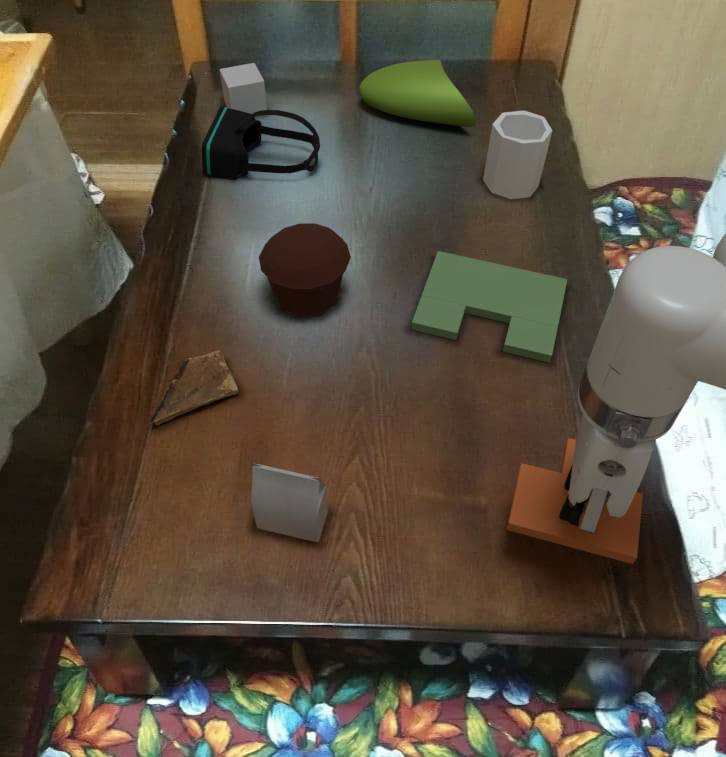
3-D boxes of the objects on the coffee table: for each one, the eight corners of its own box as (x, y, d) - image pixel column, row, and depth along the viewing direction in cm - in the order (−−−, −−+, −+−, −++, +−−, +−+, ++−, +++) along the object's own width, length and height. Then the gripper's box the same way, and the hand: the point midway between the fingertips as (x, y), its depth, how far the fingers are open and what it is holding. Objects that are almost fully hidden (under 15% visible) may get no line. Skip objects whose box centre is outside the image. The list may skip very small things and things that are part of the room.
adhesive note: (233, 121, 123) (228, 87, 118) (224, 102, 126) (219, 69, 121) (267, 113, 124) (264, 80, 119) (258, 95, 128) (254, 62, 123)
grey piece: (318, 542, 77) (314, 496, 69) (257, 528, 78) (246, 481, 70) (327, 512, 79) (325, 464, 71) (268, 498, 80) (258, 449, 72)
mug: (538, 202, 111) (552, 146, 103) (481, 196, 112) (490, 140, 104) (539, 155, 118) (552, 99, 110) (486, 149, 119) (495, 93, 111)
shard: (152, 429, 85) (149, 420, 84) (135, 382, 89) (131, 372, 88) (240, 397, 88) (239, 388, 87) (220, 352, 92) (217, 343, 91)
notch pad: (565, 286, 100) (567, 279, 99) (549, 363, 92) (552, 355, 91) (436, 258, 103) (437, 250, 102) (410, 329, 95) (411, 322, 94)
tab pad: (642, 464, 76) (665, 423, 70) (632, 564, 69) (657, 528, 63) (526, 435, 78) (538, 394, 72) (506, 530, 71) (518, 492, 65)
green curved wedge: (482, 48, 120) (361, 46, 123) (476, 102, 115) (350, 98, 118) (479, 86, 127) (366, 83, 130) (474, 139, 122) (355, 135, 125)
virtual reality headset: (222, 133, 120) (220, 78, 112) (323, 155, 120) (329, 101, 112) (202, 175, 113) (199, 119, 105) (309, 198, 113) (314, 144, 105)
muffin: (281, 335, 94) (274, 280, 86) (251, 279, 100) (242, 223, 92) (364, 307, 97) (365, 251, 89) (331, 254, 103) (329, 197, 95)
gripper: (676, 494, 51) (609, 594, 65) (686, 326, 60) (625, 446, 75) (567, 466, 52) (524, 571, 67) (593, 306, 61) (551, 428, 76)
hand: (578, 504), depth 70 cm, fingers closed on tab pad, 2 cm apart
